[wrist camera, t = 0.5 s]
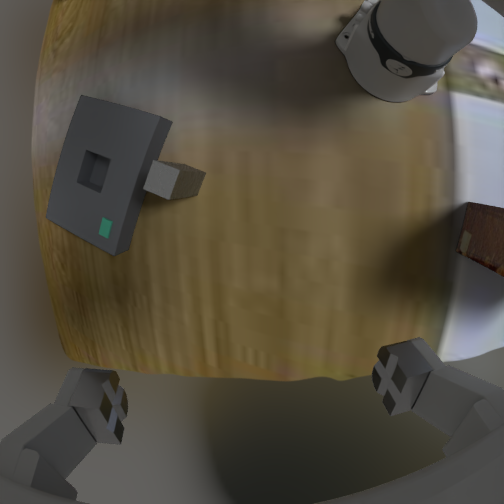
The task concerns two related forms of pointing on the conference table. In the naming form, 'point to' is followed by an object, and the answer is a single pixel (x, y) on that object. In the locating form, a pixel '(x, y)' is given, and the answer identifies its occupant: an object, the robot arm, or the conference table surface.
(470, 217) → the book
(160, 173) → the peg
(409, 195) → the conference table surface
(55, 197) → the docking mount
